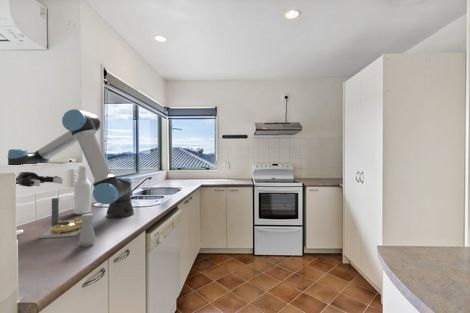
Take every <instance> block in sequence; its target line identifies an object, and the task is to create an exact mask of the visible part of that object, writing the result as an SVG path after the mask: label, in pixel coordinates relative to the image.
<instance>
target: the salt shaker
mask: <svg viewBox="0 0 470 313" xmlns="http://www.w3.org/2000/svg"><path fill="white" fill-rule="evenodd" d="M93 219H94V214H93V213H91V212H89V213H87V214H81V216H80V220H82V221H83V222H82V227H81V232H80V233H79V238H78V243H79V245H80V247H82V248H86V247H91V246H93V245H94V242H95V240H96V234H95V230H94V226H93V222H92V220H93Z"/></svg>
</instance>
